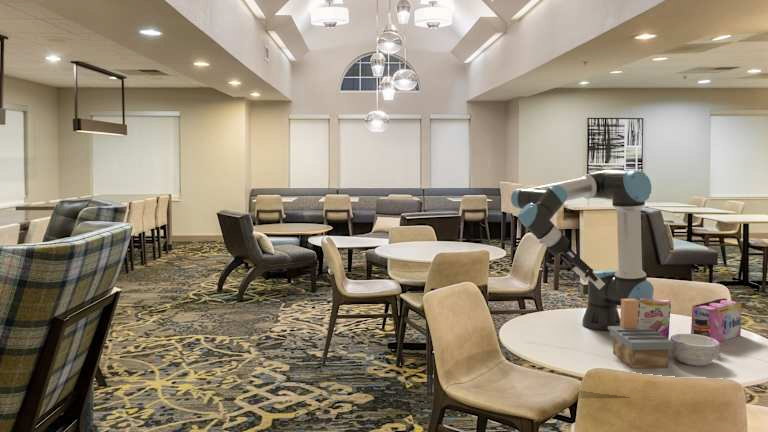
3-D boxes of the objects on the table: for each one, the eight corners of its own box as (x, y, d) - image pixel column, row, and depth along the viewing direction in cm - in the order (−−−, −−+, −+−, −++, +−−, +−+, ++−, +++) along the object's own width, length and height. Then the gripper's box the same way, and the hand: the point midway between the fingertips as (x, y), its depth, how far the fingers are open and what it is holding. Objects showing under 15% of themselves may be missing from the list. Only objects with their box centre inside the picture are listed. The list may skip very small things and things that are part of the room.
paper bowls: (728, 368, 212) (729, 345, 211) (684, 369, 211) (685, 346, 210) (702, 354, 227) (703, 332, 226) (660, 355, 226) (661, 333, 225)
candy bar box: (636, 343, 240) (638, 300, 239) (635, 339, 245) (637, 297, 243) (669, 346, 237) (671, 302, 235) (667, 342, 241) (669, 299, 240)
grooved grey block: (607, 333, 230) (608, 298, 229) (645, 332, 231) (647, 298, 230) (631, 349, 210) (633, 312, 209) (673, 349, 211) (675, 312, 210)
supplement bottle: (712, 349, 232) (714, 319, 231) (703, 352, 229) (704, 321, 228) (697, 345, 237) (698, 315, 236) (687, 348, 234) (689, 317, 233)
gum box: (722, 330, 258) (724, 297, 257) (742, 335, 252) (744, 301, 250) (689, 340, 244) (691, 305, 243) (710, 345, 238) (712, 309, 237)
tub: (612, 353, 228) (613, 331, 227) (645, 352, 228) (646, 330, 228) (632, 368, 212) (633, 344, 211) (667, 367, 212) (669, 344, 212)
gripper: (536, 243, 236) (574, 283, 239) (557, 253, 212) (600, 297, 214) (550, 228, 236) (589, 269, 238) (573, 237, 211) (616, 282, 213)
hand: (594, 282), depth 226 cm, fingers open, 13 cm apart
